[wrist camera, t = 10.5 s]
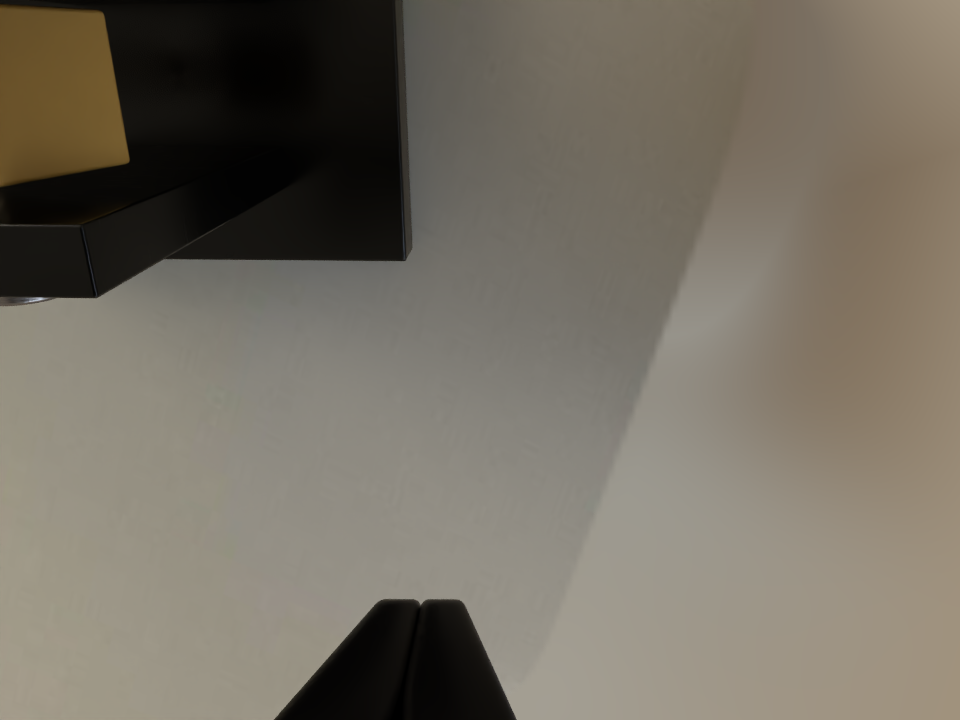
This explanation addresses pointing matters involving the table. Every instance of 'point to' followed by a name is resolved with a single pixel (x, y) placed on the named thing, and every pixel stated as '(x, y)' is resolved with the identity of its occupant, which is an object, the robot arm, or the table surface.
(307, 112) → the rod bracket
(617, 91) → the table surface
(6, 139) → the rod lever
